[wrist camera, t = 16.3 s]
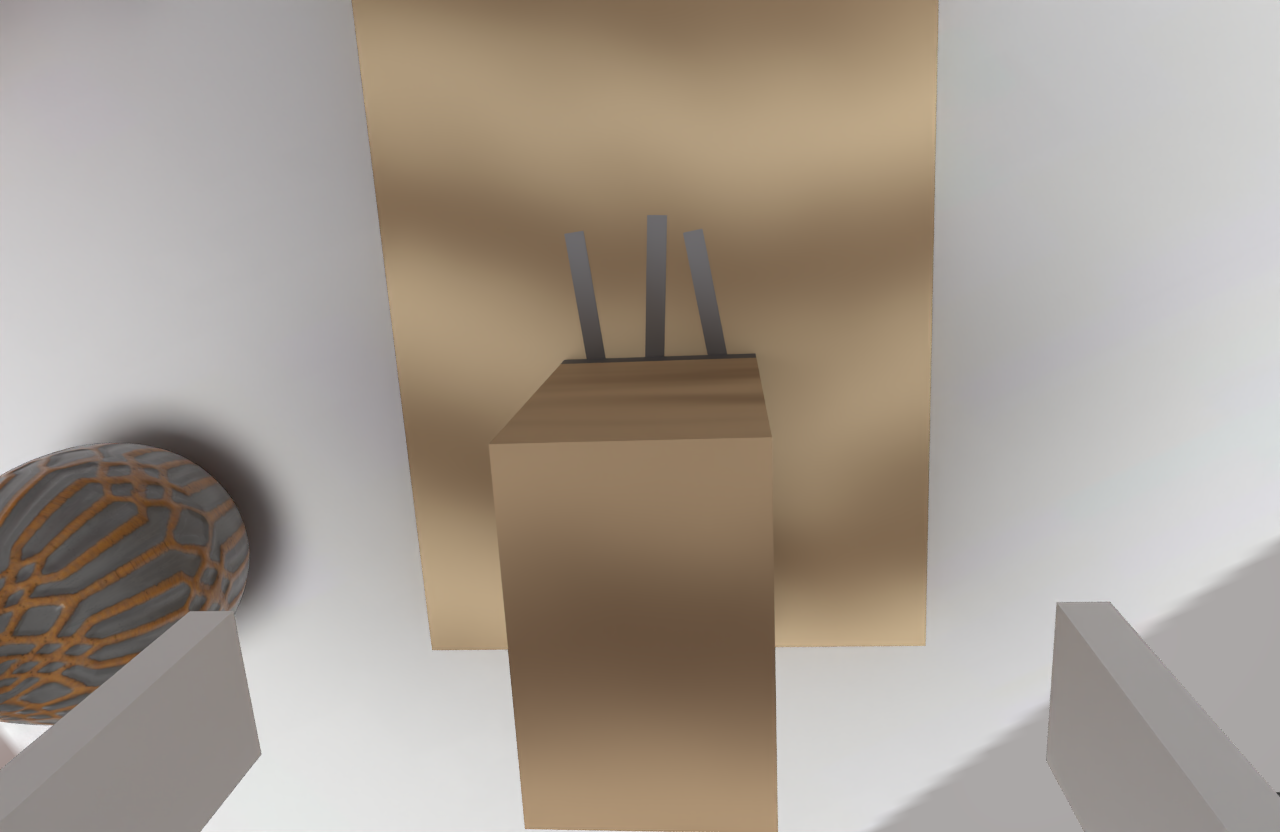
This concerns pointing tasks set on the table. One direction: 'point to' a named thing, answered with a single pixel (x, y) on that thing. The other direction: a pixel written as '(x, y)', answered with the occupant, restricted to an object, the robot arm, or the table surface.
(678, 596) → the wooden block
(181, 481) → the vase
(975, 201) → the table surface
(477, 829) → the table surface
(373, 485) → the table surface
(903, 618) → the board
